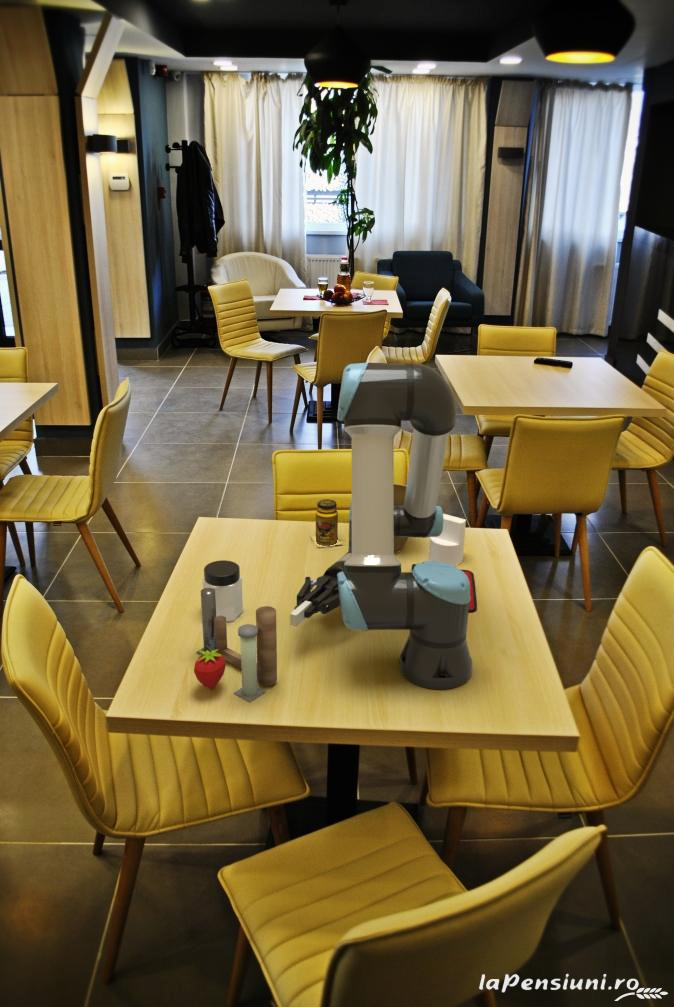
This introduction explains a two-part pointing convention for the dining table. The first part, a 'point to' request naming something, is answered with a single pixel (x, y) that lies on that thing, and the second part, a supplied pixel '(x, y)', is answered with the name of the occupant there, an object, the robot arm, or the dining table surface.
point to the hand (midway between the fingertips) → (293, 620)
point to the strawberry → (209, 668)
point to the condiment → (326, 522)
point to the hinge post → (208, 619)
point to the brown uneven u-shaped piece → (264, 644)
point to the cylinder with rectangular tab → (449, 541)
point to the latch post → (248, 663)
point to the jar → (225, 587)
